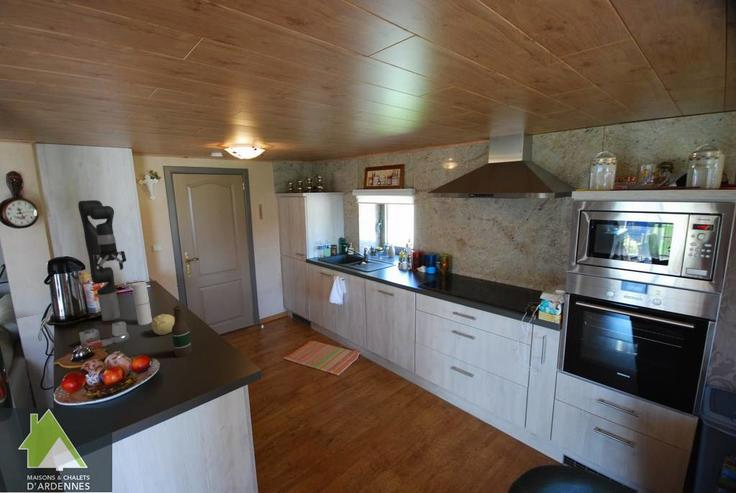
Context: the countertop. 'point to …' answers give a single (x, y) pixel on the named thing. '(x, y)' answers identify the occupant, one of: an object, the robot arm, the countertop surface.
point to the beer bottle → (180, 334)
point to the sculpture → (163, 324)
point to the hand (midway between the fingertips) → (112, 271)
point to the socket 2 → (119, 328)
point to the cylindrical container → (142, 303)
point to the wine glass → (107, 341)
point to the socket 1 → (89, 336)
